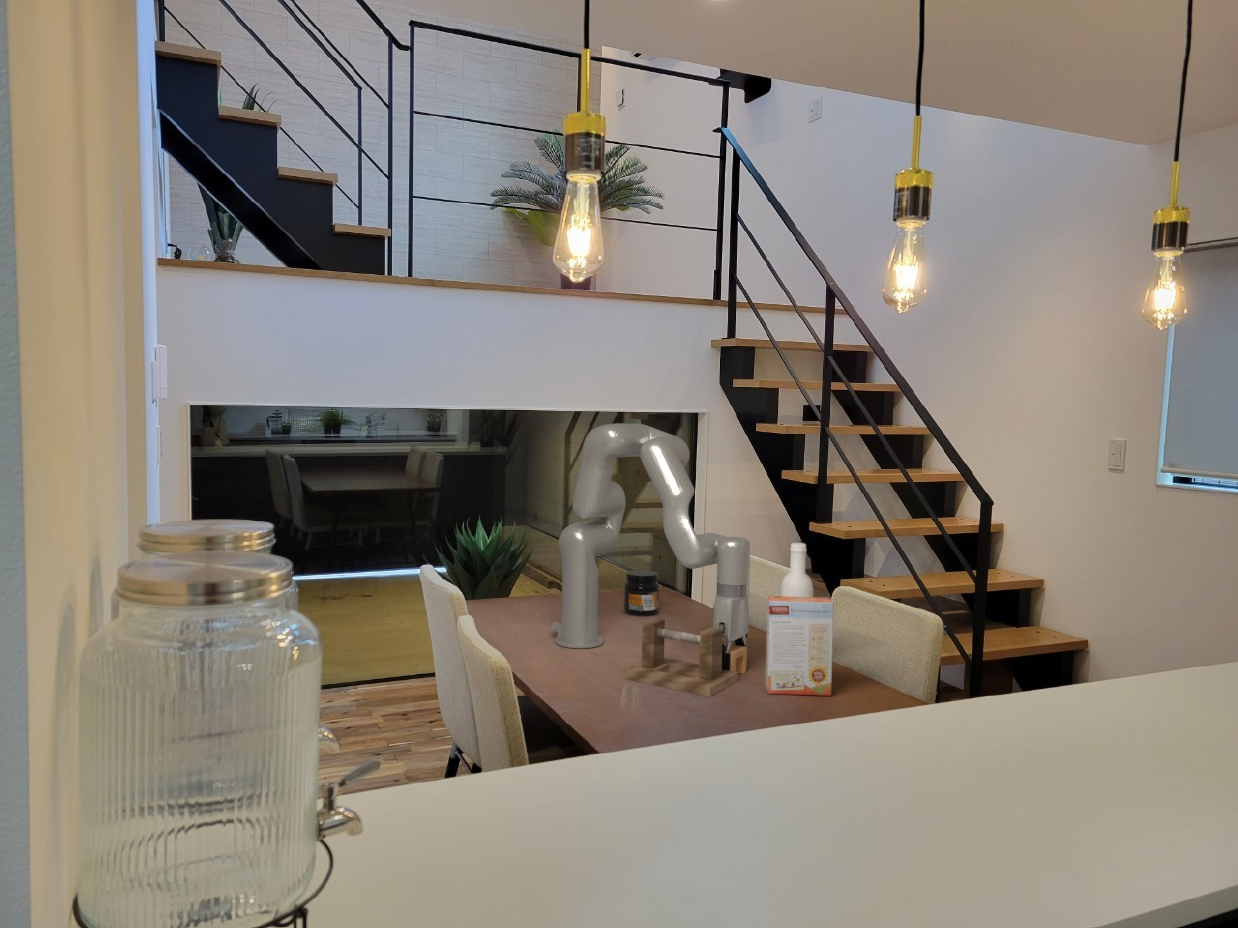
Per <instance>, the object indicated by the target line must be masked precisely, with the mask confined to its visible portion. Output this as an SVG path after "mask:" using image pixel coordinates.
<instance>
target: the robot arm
mask: <svg viewBox="0 0 1238 928" xmlns="http://www.w3.org/2000/svg"><path fill="white" fill-rule="evenodd" d="M581 452H582V454H581V461H580V466H579V469H578V473H577V474H578V475H577V479H576V484H575V488H574V492H573V498H572V510H573V512H574V514H575V515H576V516H577V517H579V518H580V519H584V521H579V522H575V523H571V524H569V525H567V526H566V527H565V528H564V529H563V530H562V531H561V533H560V535H559V538H558V547H559V554H560V559H561V622H558V621H554V622H553V623H552V624H551V626H550V631H552V632H557V635H556V637H555V639H554V640H555V641H554V642H555V643H556V645H558V646H560V647H564V648H570V649H591V648H596V647H599V646H602V645H603V643H604V637H603V635H600V634H599V632H598V630H599V584H600V582H599V580H600V578H599V570H598V566H597V563H596V560H595V557H598V556H599V557H600V556H602V555H606V554H609V553H610V552H611V551H613V550H614V548H615V547H616V544H617V543H618V539H619V537H620V531H621V527H622V522H623V518H624V513H625V509H626V496H625V492H624V490H623V488H622V486H621V485H620V484H619V483H617V482H615V481H614V480H613V481H612V478H613V473H614V466H613V465H614V463H613V460H612V459H613V458H629V457H630V458H632V457H633V458H634V457H638V458H640V459H641V462H642V465H643V467H644V468H645V471H646V474H647V475H648V477H649V478H650V480H651V483H652V485H653V487H654V489H655V490H656V493H657V496H658V498H659V500H660V502H661V504H662V522H663V523H662V524H663V530H664V534H665V537H666V540H667V542H668V543H669V546H670V548H671V550H672V552H673V554H674V555H675V557H676V559H677V560H678V562H679V563H680V564H681V565H682V566H684V567H686V568H688V569H693V570H695V569H699V568H700V569H701V568H703V567H707V566H712V565H716V598H715V602H714V603H715V604H714V611H713V621H712V628H716V629H722V630H723V636H722V669H723V670H730V653H729V649H730V645H731V644H732V642H734V643H733V644H732V645H738V646H743V647H747V644H748V641H747V638H748V636H749V635H748V633H749V630H750V623H749V622H750V615H749V614H750V613H749V612H750V611H749V598H750V572H751V571H750V564H751V543H750V541H749V540H748V539H747V538H745V537H740V536H725V535H722V534H719V533H715V532H706V533H701V534H697V533H696V531H695V529H694V527H693V525H692V522H691V520H690V515H689V505H690V502H691V499H692V498H693V496H694V494H695V487H694V485H693V483H692V482H691V479H690V477H689V476H688V473H687V471H686V470H685V467H686V466H687V464H688V462H689V461H690V450H689V447H688V445H687V443H686V442H685V441H684V440H683V439H682V438H680V437H678V436H676V435H674V434H671V433H668V432H665V431H662V430H660V429H657V428H655V427H652V426H649V425H647V424H644V423H621V422H620V423H608V424H603V425H602V424H601V425H599V426H597V427H595V428H593V429H591V430H590V431H589V432H588V434H587V435H586V436H585V439H584V442H583V446H582V451H581ZM585 520H586V521H585ZM724 643H725V644H724ZM725 645H726V647H725Z"/></svg>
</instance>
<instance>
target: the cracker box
mask: <svg viewBox="0 0 1238 928" xmlns="http://www.w3.org/2000/svg"><path fill="white" fill-rule="evenodd" d="M766 598H767V600H766V604H767V605H766V636H765V638H766V639H765V641H766V643H765V647H766V648H765V650H766V651H765V690H766V692H767V694H768V695H794V696H795V695H797V696H799V695H800V696H802V695H803V696H804V695H805V696H819V697H820V696H824V697H827V696H828V697H830V696H832V681H833V642H834V641H833V640H834V639H833V638H834V607H835V606H834V604H835V603H834V602H833V600H832V599H831V598H830V597H821V596H819V597H818V596H817V597H816V596H813V597H787V596H781V595H778V596H777V595H774V596H773V595H768V596H767V597H766Z"/></svg>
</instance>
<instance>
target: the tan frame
mask: <svg viewBox="0 0 1238 928" xmlns="http://www.w3.org/2000/svg"><path fill="white" fill-rule="evenodd" d="M665 627H666V619H661V618H656V617H653V618H650V619H648V620H645V621H642V635H641V636H642V642H641V644H642V645H641V646H642V647H641V661H640V662H639V663H636V664H634V665H632V666H629V667H627V668H625V669H624V670H623V679H625V680H629V681H635V682H640V683H643V684H649V685H653V686H657V687H661V688H666V689H671V690H674V691H675V690H676V691H680V692H684V693H685V692H686V693H689V694H695V695H700V696H703V697H709V698H710V697H712V696H714V695H716V694H717V693H719V692H722V690H724V689H727V688H728V687H729V686H732V685H733V684H735V683H737V682H738V681H739V673H738V672H734V671H729V670H723V669H722V643H723V642H722V636H723V630H722V629H716V628H713V627H709V628H707V629H704V630H702V631H700V633H699V634H700V635H699V634H695V633H689V632H683V631H677V630H674V629H673V630H672V629H666V628H665ZM665 639H667V640H673V641H678V642H685V643H690V644H695V645H699V664H698V663H697V664H696V663H693V662H687V661H682V660H677V659H672V658H665Z"/></svg>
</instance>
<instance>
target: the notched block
mask: <svg viewBox="0 0 1238 928" xmlns="http://www.w3.org/2000/svg"><path fill="white" fill-rule="evenodd" d="M724 645H725V647H726V644H724ZM747 649H748V648H747V646H746V647H743V646H738V645H733V644H732V643H731V645H730V649H729V653H730V670H729V671H734V672H738V674H743V675H744V674H746V673H747V654H748V653H747V652H748V651H747Z"/></svg>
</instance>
